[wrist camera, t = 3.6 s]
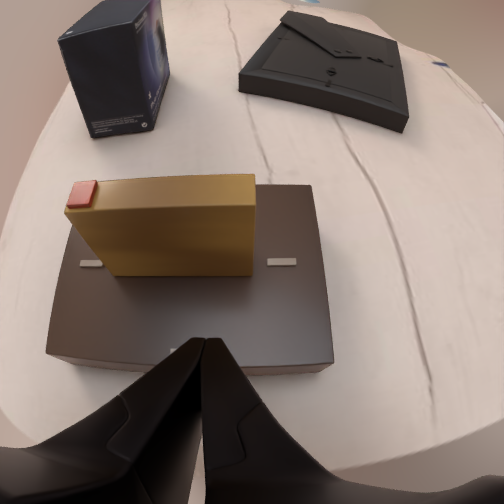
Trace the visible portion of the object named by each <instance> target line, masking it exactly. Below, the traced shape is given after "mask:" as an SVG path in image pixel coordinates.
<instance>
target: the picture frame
mask: <svg viewBox="0 0 504 504" xmlns="http://www.w3.org/2000/svg"><path fill="white" fill-rule="evenodd" d="M280 21H281V23H280V24H279V26H278V27H277V28H276V29H275V30H274V31H273V32H272V34H271V35H270V36H269V37H268V38H267V39H266V41H265V42H264V43H263V44H262V45H261V47H260V48H259V49H258V50H257V51H256V53H255V54H254V55H253V56H252V58H251V59H250V60H249V61H248V62H247V64H246V65H245V66H244V68H243V69H242V70H241V71H240V73H239V92H245V93H251V94H257V95H262V96H267V97H272V98H277V99H282V100H287V101H291V102H296V103H300V104H305V105H309V106H313V107H317V108H321V109H325V110H328V111H332V112H336V113H340V114H343V115H347V116H350V117H353V118H357V119H360V120H363V121H367V122H370V123H373V124H376V125H379V126H382V127H385V128H388V129H391V130H394V131H397V132H399V133H402V132H403V130H404V128H405V125H406V123H407V121H408V118H409V111H408V104H407V96H406V89H405V83H404V77H403V71H402V65H401V60H400V55H399V50H398V45H397V42H396V41H393V40H390V39H387V38H384V37H381V36H378V35H375V34H371V33H368V32H364V31H361V30H357V29H354V28H350V27H346V26H342V25H338V24H333V23H329V22H327V21H326V20H325V19H324V18H322V17H317V16H313V15H308V14H304V13H299V12H293V11H287V13H286V14H285V15H284V16H283V17H282V18H281V19H280Z"/></svg>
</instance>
